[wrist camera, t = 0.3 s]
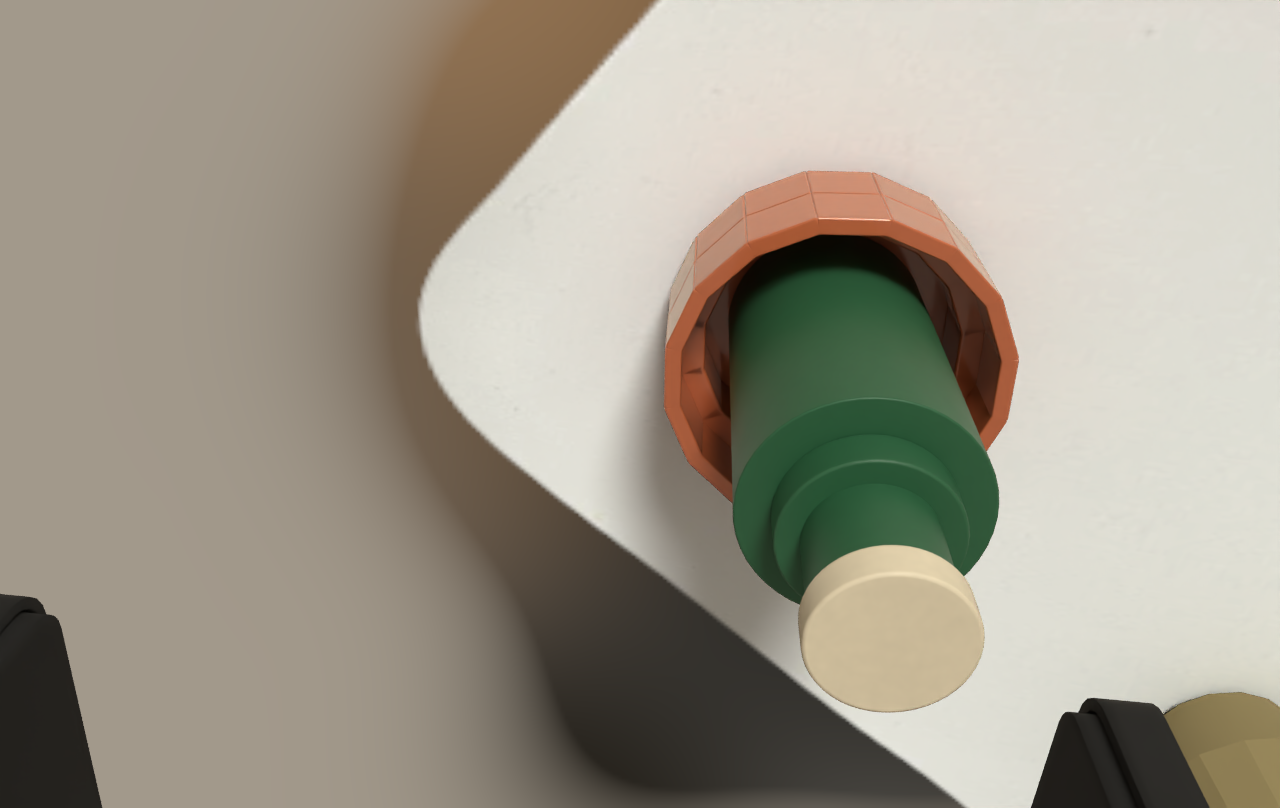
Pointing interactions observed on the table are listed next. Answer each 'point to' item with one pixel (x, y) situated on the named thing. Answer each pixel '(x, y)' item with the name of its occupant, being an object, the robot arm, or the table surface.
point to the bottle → (858, 471)
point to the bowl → (796, 213)
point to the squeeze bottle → (1231, 748)
